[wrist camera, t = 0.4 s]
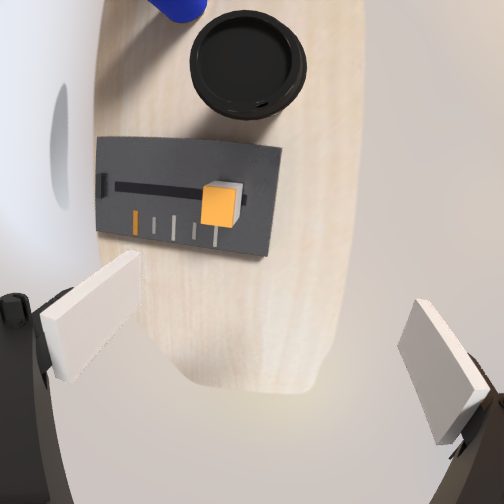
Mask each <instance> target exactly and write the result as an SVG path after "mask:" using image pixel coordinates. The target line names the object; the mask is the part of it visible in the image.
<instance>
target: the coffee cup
mask: <svg viewBox="0 0 504 504" xmlns="http://www.w3.org/2000/svg"><path fill="white" fill-rule="evenodd" d="M190 72H191V78H192V82H193V85H194V88H195V90H196V91H197V93H198V95H199V96H200V98H201V99H202V100H203V101H204V102H205V104H206V105H208V106H209V107H210V108H211V109H213V110H214V111H215V112H217V113H219V114H221V115H223V116H225V117H229V118H232V119H237V120H258V119H262V118H266V117H270V116H274V115H276V114H278V113H279V112H281V111H282V110H283V109H284V108H286V107H287V106H288V105H289V104H290V103H291V102H292V101H293V100H294V99H295V98H296V97H297V96H298V94H299V92H300V91H301V89H302V87H303V84H304V82H305V79H306V72H307V61H306V55H305V52H304V49H303V47H302V45H301V43H300V41H299V40H298V38H297V36H296V35H295V34H294V33H293V32H292V31H291V30H290V29H289V28H288V27H286V26H285V25H284V24H283V23H281V22H280V21H278V20H277V19H276V18H274V17H272V16H270V15H268V14H265V13H262V12H258V11H252V10H239V11H232V12H229V13H225V14H223V15H221V16H219V17H217V18H215V19H213V20H212V21H211V22H209V23H208V24H207V25H206V26H205V27H204V28H203V29H202V30H201V31H200V32H199V34H198V35H197V37H196V39H195V40H194V43H193V46H192V49H191V53H190Z"/></svg>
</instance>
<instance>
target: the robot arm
mask: <svg viewBox="0 0 504 504" xmlns="http://www.w3.org/2000/svg"><path fill="white" fill-rule="evenodd" d="M142 303H143V300H142V252H137V251H132V250H127V251H126V252H124V253H123V254H122V255H120V256H119V257H117V258H116V259H114V260H113V261H111V262H110V263H108V264H107V265H106V266H104V267H103V268H101V269H100V270H99V271H97V272H96V273H94V274H93V275H91V276H90V277H89V278H87V279H86V280H84V281H83V282H82V283H80V284H79V285H78V286H77V287H75V288H74V287H72V288H69V289H66V290H63V291H62V292H60V293H59V294H57V295H56V296H55V297H54V298H52V299H51V300H49V301H48V302H47V303H45V304H44V305H42V306H41V307H40V308H38V309H37V310H36V311H34V312H33V313H32V314H31V309H30V304H29V299H28V297H27V296H26V295H25V294H21V293H11V294H7V295H4V296H2V297H0V504H74V502H73V499H72V496H71V493H70V489H69V486H68V482H67V478H66V474H65V470H64V466H63V462H62V458H61V453H60V449H59V444H58V439H57V434H56V428H55V424H54V417H53V410H52V404H51V396H50V387H49V379H48V375H47V370H48V369H49V368H50V367H51V366H53V370H54V373H55V377H56V378H58V379H61V380H63V381H65V382H67V383H69V384H72V383H73V382H74V381H75V380H76V378H77V377H78V376H79V375H80V374H81V372H82V371H83V370H84V369H85V368H86V367H87V366H88V364H89V363H90V362H91V361H92V360H93V359H94V357H95V356H96V355H97V353H99V352H100V351H101V349H102V348H103V347H104V346H105V345H106V344H107V342H108V341H109V340H110V339H111V338H112V337H113V336H114V335H115V333H116V332H117V331H118V330H119V329H120V327H122V326H123V324H124V323H125V322H126V321H127V320H128V319H129V318H130V317H131V315H132V314H133V313H134V312H135V311H136V310H137V309H138V308H139V307H140V306H141V304H142ZM397 347H398V349H399V351H400V354H401V356H402V358H403V361H404V363H405V365H406V368H407V370H408V372H409V375H410V377H411V380H412V382H413V385H414V387H415V389H416V392H417V394H418V397H419V400H420V402H421V404H422V407H423V410H424V413H425V415H426V417H427V421H428V423H429V426H430V429H431V432H432V434H433V437H434V440H435V443H436V445H444V444H452V443H453V442H454V441H455V440H456V438H457V437H458V436H459V434H460V433H461V434H462V437H463V439H464V440H463V441H462V443H461V444H460V445H459V446H458V448H457V449H456V450H455V451H454V452H453V454H452V455H451V456H450V457H449V459H452V457H453V460H452V462H451V464H450V466H449V468H448V470H447V472H446V474H445V476H444V478H443V480H442V482H441V484H440V485H439V487H438V489H437V491H436V493H435V494H434V496H433V498H432V500H431V501H430V503H429V504H504V393H499V394H498V392H497V391H496V389H495V388H494V386H493V385H492V383H491V382H490V380H489V378H488V377H487V375H485V372H484V371H483V369H481V366H480V365H479V364H478V362H477V361H476V359H475V358H473V357H472V356H471V355H470V354H469V353H467V352H466V351H465V350H464V348H463V347H462V345H461V344H460V342H459V341H458V340H457V338H456V337H455V335H454V334H453V333H452V331H451V330H450V328H449V327H448V326H447V324H446V323H445V322H444V320H443V319H442V318H441V316H440V315H439V313H438V312H437V311H436V309H435V308H434V307H433V306H432V304H431V303H430V302H429V300H423V299H415V301H414V304H413V307H412V310H411V312H410V315H409V318H408V321H407V323H406V326H405V329H404V331H403V333H402V336H401V338H400V341H399V343H398V346H397Z"/></svg>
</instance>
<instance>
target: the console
mask: <svg viewBox="0 0 504 504" xmlns="http://www.w3.org/2000/svg"><path fill="white" fill-rule="evenodd" d="M281 154H282V148H280V147H272V146H264V145H256V144H247V143H237V142H226V141H215V140H201V139H186V138H166V137H130V136H105V137H97V150H96V185H95V201H96V231H100V232H106V233H113V234H119V235H126V236H133V237H139V238H146V239H152V240H159V241H166V242H172V243H179V244H186V245H192V246H199V247H205V248H212V249H219V250H225V251H232V252H239V253H246V254H252V255H259V256H266V257H267V256H268V252H269V246H270V238H271V231H272V224H273V216H274V209H275V201H276V193H277V186H278V178H279V170H280V162H281ZM213 181H224V182H233V183H241V184H243V188H242V198H241V207H240V217H239V218H238V220H237V221H236V222H235V224H234V225H233V227H232V228H229V227H221V226H214V225H207V224H201V213H202V199H203V186H205V185H207V184H209V183H211V182H213Z"/></svg>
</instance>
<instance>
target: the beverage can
mask: <svg viewBox="0 0 504 504" xmlns="http://www.w3.org/2000/svg"><path fill="white" fill-rule="evenodd" d="M148 1H149V2H150V3H152V4H153V5H154V6H155V7H156V8H158V9H159V10H160V11H161V12H162V13H163V14H165V15H166V16H167V17H168V18H169V19H170V20H172V21H174V22H177V23H185V22H189V21H192V20H194V19H196V18H197V17H199V16H200V15H201V14H202V13H203V12H204V10H205V8H206V6H207V0H148Z"/></svg>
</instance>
